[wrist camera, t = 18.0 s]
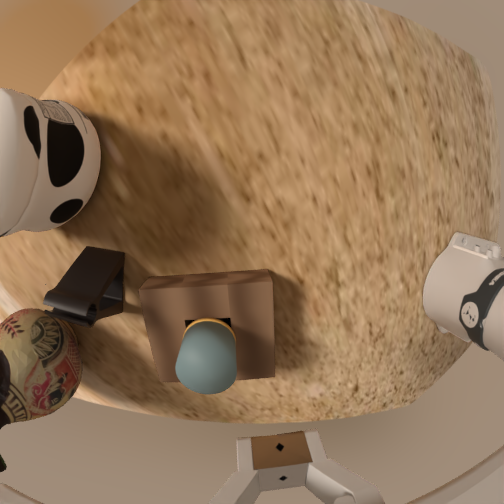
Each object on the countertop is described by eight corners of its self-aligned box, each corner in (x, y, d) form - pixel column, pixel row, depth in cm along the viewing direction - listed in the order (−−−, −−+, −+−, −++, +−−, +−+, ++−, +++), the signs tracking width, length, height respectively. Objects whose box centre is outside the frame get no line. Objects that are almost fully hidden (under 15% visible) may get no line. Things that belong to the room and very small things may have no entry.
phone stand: (122, 311, 38) (89, 355, 26) (88, 303, 37) (48, 341, 26) (125, 252, 36) (84, 280, 24) (88, 245, 35) (40, 269, 24)
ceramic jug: (101, 383, 41) (35, 517, 12) (34, 358, 39) (-48, 458, 10) (94, 296, 37) (-36, 433, 8) (21, 276, 35) (-105, 358, 6)
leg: (233, 298, 38) (234, 344, 27) (236, 339, 40) (239, 393, 28) (186, 301, 38) (169, 347, 26) (192, 341, 40) (181, 394, 28)
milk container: (20, 224, 34) (-61, 249, 16) (26, 117, 30) (-52, 99, 12) (107, 227, 35) (26, 261, 18) (116, 102, 31) (44, 54, 14)
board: (267, 269, 38) (272, 281, 33) (270, 357, 41) (275, 376, 36) (149, 276, 37) (138, 289, 32) (166, 362, 40) (160, 382, 35)
